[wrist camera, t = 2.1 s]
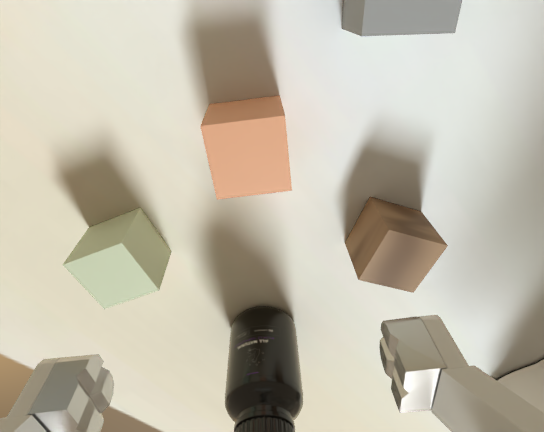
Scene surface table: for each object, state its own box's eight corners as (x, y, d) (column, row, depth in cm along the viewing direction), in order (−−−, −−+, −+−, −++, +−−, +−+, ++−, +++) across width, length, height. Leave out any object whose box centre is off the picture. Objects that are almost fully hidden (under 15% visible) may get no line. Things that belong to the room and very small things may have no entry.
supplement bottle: (254, 293, 35) (255, 416, 25) (307, 320, 37) (328, 442, 27) (217, 333, 38) (205, 458, 27) (269, 355, 40) (275, 477, 30)
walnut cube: (420, 211, 31) (447, 245, 26) (392, 254, 33) (413, 292, 29) (369, 196, 30) (389, 229, 25) (344, 242, 32) (358, 279, 28)
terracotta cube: (279, 95, 25) (284, 115, 21) (285, 160, 27) (291, 190, 23) (209, 103, 25) (200, 126, 21) (222, 168, 28) (217, 199, 23)
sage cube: (140, 206, 29) (121, 242, 25) (171, 250, 32) (159, 290, 27) (89, 226, 30) (62, 264, 26) (123, 268, 32) (104, 309, 28)
